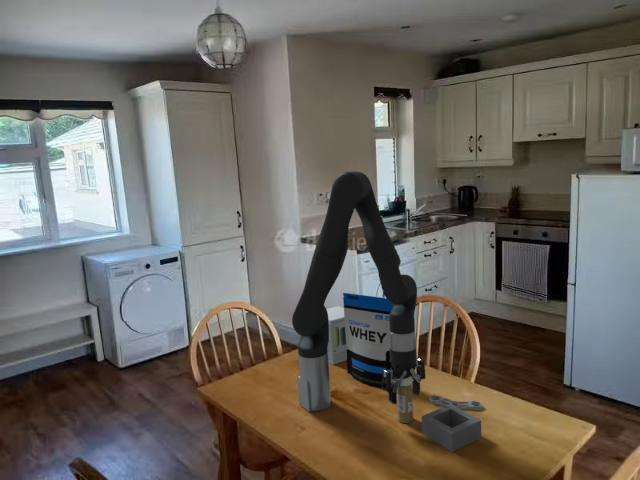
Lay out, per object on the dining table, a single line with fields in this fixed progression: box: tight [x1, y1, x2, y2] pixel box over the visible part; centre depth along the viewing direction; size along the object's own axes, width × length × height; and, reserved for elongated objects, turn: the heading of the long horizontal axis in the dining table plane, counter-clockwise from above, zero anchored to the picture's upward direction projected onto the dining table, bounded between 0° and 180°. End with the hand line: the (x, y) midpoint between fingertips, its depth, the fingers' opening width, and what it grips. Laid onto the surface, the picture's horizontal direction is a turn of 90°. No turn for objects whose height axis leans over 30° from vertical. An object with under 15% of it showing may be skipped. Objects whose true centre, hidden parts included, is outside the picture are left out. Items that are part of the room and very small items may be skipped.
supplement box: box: [326, 305, 347, 366], centre depth 189 cm, size 13×13×18 cm
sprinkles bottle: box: [396, 376, 414, 424], centre depth 140 cm, size 5×5×13 cm
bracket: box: [429, 394, 483, 411], centre depth 147 cm, size 8×2×15 cm
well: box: [421, 404, 482, 453], centre depth 131 cm, size 11×11×5 cm
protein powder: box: [342, 292, 396, 389], centre depth 164 cm, size 10×24×30 cm, turn 54°
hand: (404, 398), depth 140 cm, fingers open, 8 cm apart
